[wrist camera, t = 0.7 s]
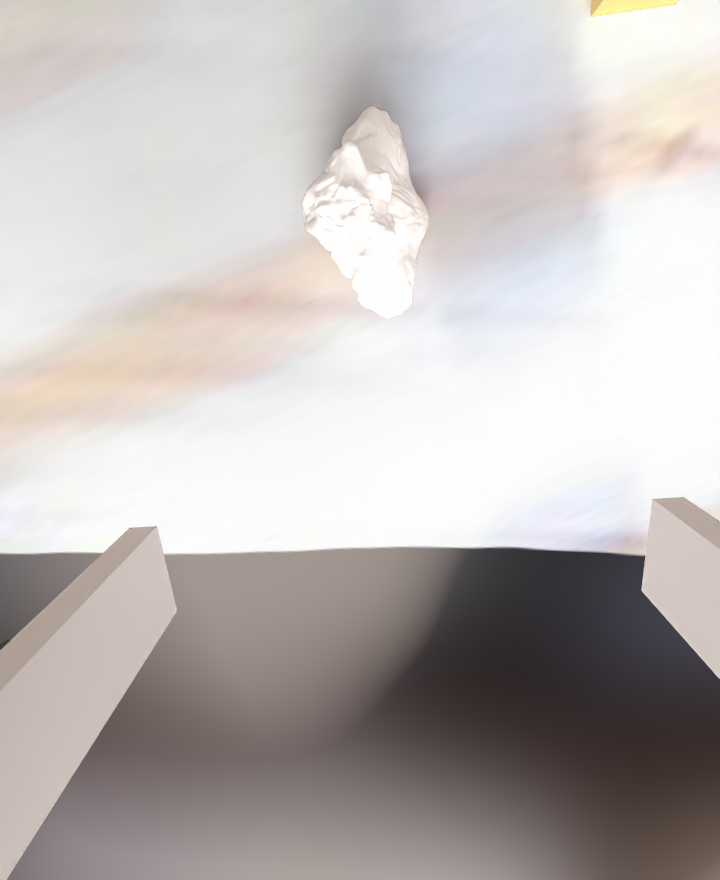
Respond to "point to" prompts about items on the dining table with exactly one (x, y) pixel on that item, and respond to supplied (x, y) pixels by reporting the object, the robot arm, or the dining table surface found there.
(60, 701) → the robot arm
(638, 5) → the yellow rectangular block
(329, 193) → the bust
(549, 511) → the dining table surface
